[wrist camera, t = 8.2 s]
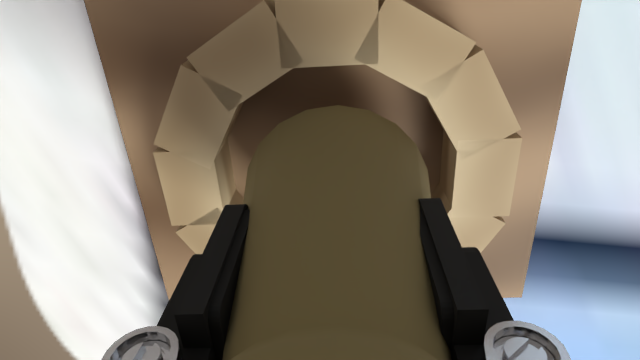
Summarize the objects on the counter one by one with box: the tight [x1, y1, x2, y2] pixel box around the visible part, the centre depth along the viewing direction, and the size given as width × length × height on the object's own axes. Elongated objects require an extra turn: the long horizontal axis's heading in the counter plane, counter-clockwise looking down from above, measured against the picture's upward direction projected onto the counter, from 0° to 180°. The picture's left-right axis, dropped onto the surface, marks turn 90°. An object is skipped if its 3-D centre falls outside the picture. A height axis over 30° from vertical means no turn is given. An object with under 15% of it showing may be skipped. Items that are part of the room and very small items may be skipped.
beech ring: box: [153, 0, 522, 254], centre depth 15 cm, size 12×12×2 cm
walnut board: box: [84, 0, 582, 300], centre depth 15 cm, size 20×16×1 cm
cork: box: [222, 105, 452, 360], centre depth 9 cm, size 6×6×11 cm
